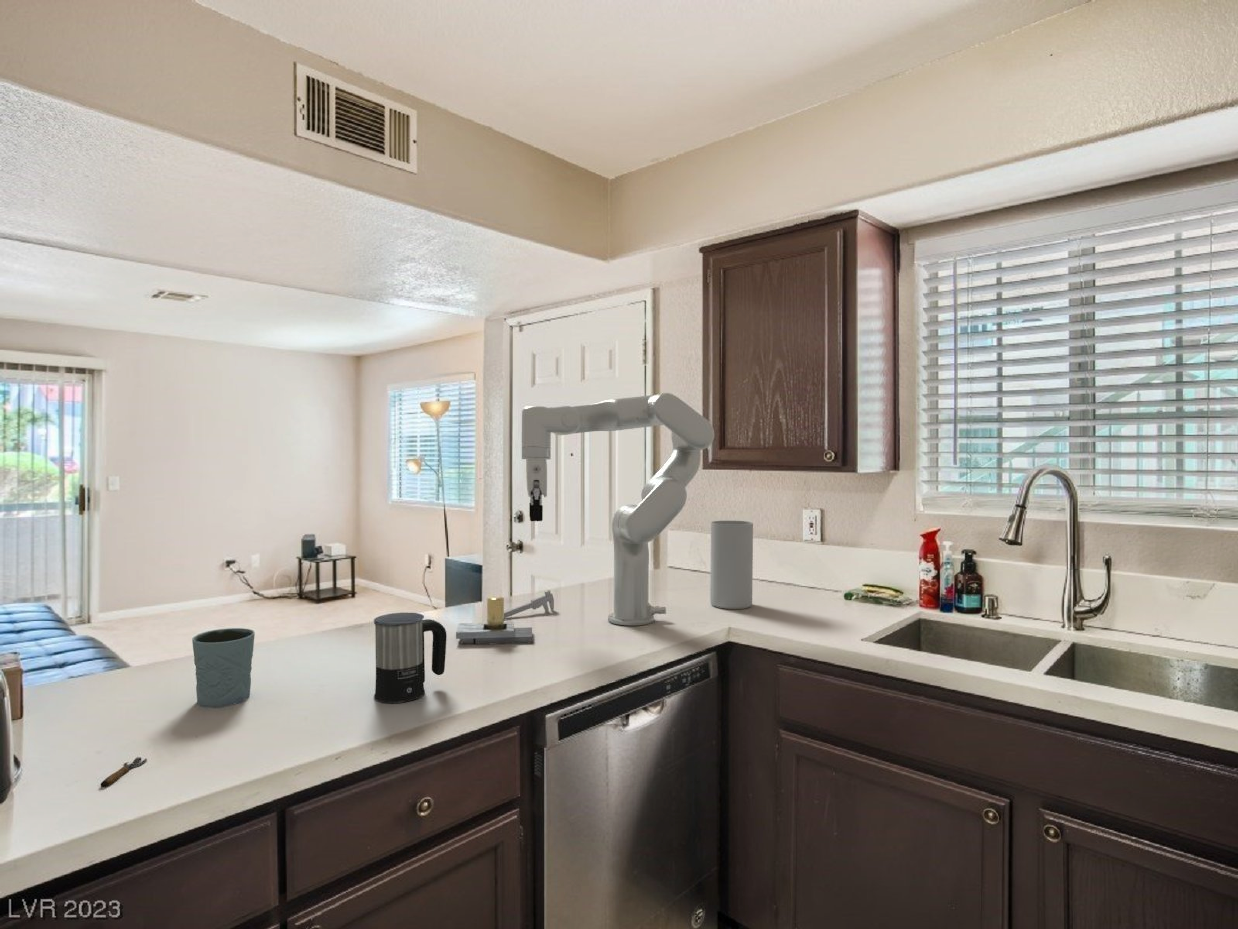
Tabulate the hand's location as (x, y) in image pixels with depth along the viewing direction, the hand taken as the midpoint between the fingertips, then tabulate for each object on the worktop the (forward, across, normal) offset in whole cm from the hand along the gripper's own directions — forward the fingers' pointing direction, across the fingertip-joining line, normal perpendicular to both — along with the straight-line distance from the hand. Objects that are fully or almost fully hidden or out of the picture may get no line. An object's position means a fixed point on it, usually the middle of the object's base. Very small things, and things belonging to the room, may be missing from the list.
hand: (535, 519), depth 187 cm
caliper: (+29, +14, +3) cm, 32 cm away
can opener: (+29, -78, +60) cm, 102 cm away
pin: (+28, -11, +10) cm, 32 cm away
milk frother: (+29, -46, +27) cm, 60 cm away
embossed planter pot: (+28, -48, +58) cm, 80 cm away
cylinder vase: (+28, +20, -59) cm, 69 cm away
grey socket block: (+28, -11, +10) cm, 32 cm away
